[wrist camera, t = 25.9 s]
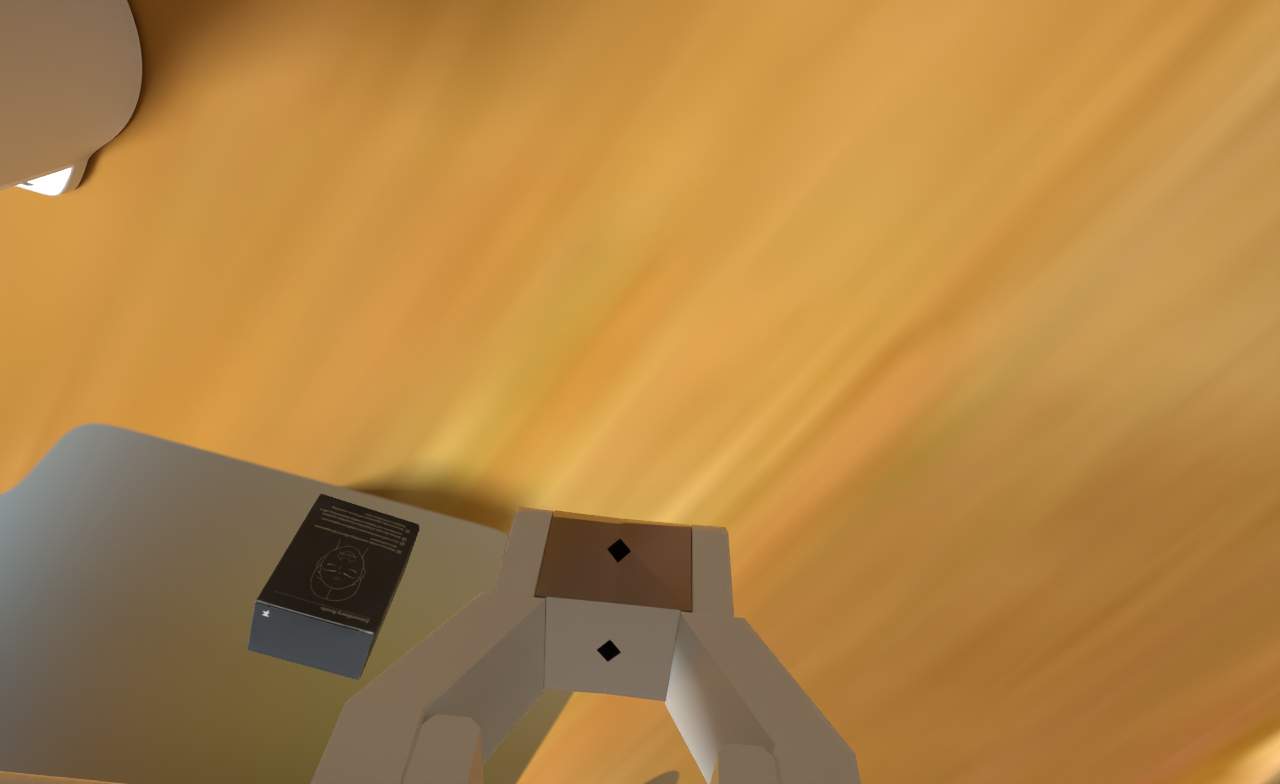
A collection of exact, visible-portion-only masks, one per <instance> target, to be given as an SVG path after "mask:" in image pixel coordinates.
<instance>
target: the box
mask: <svg viewBox="0 0 1280 784" xmlns="http://www.w3.org/2000/svg"><path fill="white" fill-rule="evenodd" d="M418 531H419V525H418V524H415V523H412V522H409V521H406V520H403V519H399V518H396V517H393V516H390V515H387V514H383V513H380V512H377V511H374V510H371V509H367V508H365V507H361V506H358V505H355V504H352V503H348V502H345V501H342V500H339V499H336V498H333V497H329V496H326V495H323V494H320V496H319V497H318V499H317V501H316V502H315V504H314V505H313V507H312V508H311V510H310V512H309V514H308V515H307V517H306V519H305V520H304V522H303V523H302V525H301V527H300V528H299V530H298V532H297V533H296V535H295V537H294V538H293V540H292V542H291V544H290V545H289V547H288V548H287V550H286V552H285V553H284V555H283V557H282V559H281V560H280V562H279V564H278V565H277V567H276V569H275V570H274V572H273V573H272V575H271V577H270V578H269V580H268V582H267V583H266V585H265V587H264V588H263V590H262V592H261V593H260V595H259V597H258V598H257V600H256V602H255V606H254V613H253V619H252V625H251V631H250V636H249V642H248V650H250V651H254V652H258V653H261V654H265V655H269V656H272V657H276V658H279V659H284V660H287V661H290V662H294V663H298V664H302V665H305V666H309V667H312V668H316V669H319V670H324V671H327V672H331V673H335V674H338V675H342V676H345V677H349V678H352V679H356V680H359V678H360V677H361V675H362V672H363V670H364V667H365V665H366V662H367V661H368V658H369V656H370V653H371V651H372V649H373V646H374V644H375V641H376V639H377V636H378V634H379V632H380V629H381V627H382V624H383V622H384V620H385V617H386V615H387V612H388V610H389V607H390V605H391V602H392V600H393V598H394V595H395V593H396V591H397V588H398V586H399V583H400V581H401V579H402V576H403V574H404V571H405V568H406V565H407V563H408V560H409V557H410V554H411V551H412V548H413V545H414V542H415V540H416V537H417V534H418Z"/></svg>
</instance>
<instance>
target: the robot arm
mask: <svg viewBox="0 0 1280 784" xmlns="http://www.w3.org/2000/svg"><path fill="white" fill-rule="evenodd" d="M141 82H142V56H141V48H140V42H139V37H138V32H137V28H136V25H135V21H134V18H133V15H132V12H131V9H130V7H129V4H128V2H127V0H0V190H3V189H7V188H10V187H13V186H16V187H19V188H23V189H26V190H30V191H33V192H37V193H41V194H44V195H49V196H58V195H62V194H65V193H69V192H71V191H73V190H74V189H75V188H76V187H77V186H78V184H79V183H80V181H81V179H82V176H83V174H84V171H85V168H86V165H87V162H88V159H89V158H90V156H91V155H92V154H93V153H94V152H95V151H96V150H98V149H99V148H100V147H102V146H103V145H105V144H106V143H108V142H109V141H110V140H112V139H113V138H114V137H115V136H116V135H118V134H119V133H120V131H121V130H122V129H123V128H124V127H125V125H126V124H127V123H128V121H129V119H130V118H131V116H132V114H133V112H134V110H135V107H136V104H137V101H138V98H139V94H140V89H141ZM605 685H606V686H605ZM543 689H547V690H562V691H575V692H590V693H604V694H612V695H619V696H627V697H635V698H643V699H651V700H659V701H666V702H665V705H666V707H667V709H668V711H669V712H670V714H671V716H672V718H673V720H674V722H675V724H676V726H677V727H678V729H679V731H680V733H681V735H682V737H683V739H684V740H685V742H686V744H687V746H688V748H689V750H690V752H691V753H692V755H693V757H694V759H695V761H696V763H697V765H698V766H699V768H700V770H701V772H702V774H703V776H704V778H705V779H706V781H707V783H708V784H861V781H860V776H859V771H858V766H857V761H856V756H855V753H854V752H853V750H852V749H851V748H850V747H849V745H848V744H847V743H846V742H845V741H844V739H843V738H842V737H841V736H840V734H839V733H838V732H837V731H836V730H835V728H834V727H833V726H832V725H831V723H830V722H829V721H828V720H827V719H826V717H825V716H824V715H823V714H822V712H821V711H820V710H819V709H818V708H817V706H816V705H815V704H814V703H813V701H812V700H811V699H810V698H809V697H808V695H807V694H806V693H805V692H804V690H803V689H802V688H801V687H800V685H799V684H798V683H797V682H796V681H795V679H794V678H793V677H792V676H791V674H790V673H789V672H788V671H787V670H786V668H785V667H784V666H783V665H782V663H781V662H780V661H779V660H778V659H777V657H776V656H775V655H774V654H773V652H772V651H771V650H770V649H769V648H768V646H767V645H766V644H765V643H764V641H763V640H762V639H761V638H760V637H759V635H758V634H757V633H756V632H755V630H754V629H753V628H752V627H751V625H750V624H749V623H748V622H747V621H746V619H745V618H737V617H734V608H733V594H732V580H731V566H730V551H729V537H728V531H727V530H726V528H725V527H714V526H702V525H691V526H690V525H686V524H675V523H664V522H653V521H643V520H632V519H619V518H611V517H603V516H595V515H587V514H579V513H571V512H563V511H548V510H540V509H533V508H525V507H519V508H518V510H517V512H516V513H515V515H514V519H513V522H512V526H511V529H510V533H509V536H508V540H507V544H506V547H505V551H504V554H503V558H502V561H501V565H500V568H499V572H498V575H497V579H496V582H495V586H494V589H493V593H487V592H482V593H480V594H479V595H478V596H476V597H475V598H474V599H473V600H471V601H470V602H469V603H468V604H467V605H465V606H464V607H463V608H462V609H460V610H459V611H458V612H457V613H455V614H454V615H453V616H452V617H450V618H449V619H448V620H447V621H445V622H444V623H443V624H442V625H440V626H439V627H438V628H437V629H436V630H434V631H433V632H432V633H431V634H429V635H428V636H427V637H426V638H424V639H423V640H422V641H421V642H419V643H418V644H417V645H416V646H415V647H413V648H412V649H411V650H410V651H408V652H407V653H406V654H405V655H403V656H402V657H401V658H400V659H398V660H397V661H396V662H395V663H393V664H392V665H391V666H390V667H388V668H387V669H386V670H385V671H384V672H382V673H381V674H380V675H378V676H377V677H376V678H375V679H374V680H372V681H371V682H370V683H369V684H367V685H366V686H365V687H364V688H362V689H361V690H360V691H359V692H357V693H356V694H355V695H354V696H352V697H351V698H350V699H349V700H348V701H346V703H345V705H344V708H343V710H342V712H341V715H340V717H339V719H338V721H337V724H336V726H335V729H334V731H333V733H332V735H331V738H330V740H329V742H328V745H327V747H326V749H325V751H324V754H323V756H322V758H321V761H320V763H319V765H318V768H317V770H316V772H315V774H314V777H313V779H312V781H311V784H483V773H482V765H483V764H484V763H485V762H486V760H487V759H488V758H489V757H490V756H491V754H492V753H493V752H494V751H495V750H496V748H497V747H498V746H499V745H500V743H501V742H502V741H503V740H504V739H505V738H506V737H507V735H508V734H509V733H510V732H511V731H512V729H513V728H514V727H515V726H516V725H517V724H518V722H519V721H520V720H521V719H522V718H523V716H524V715H525V714H526V713H527V712H528V710H529V709H530V708H531V707H532V706H533V704H534V703H535V702H536V701H537V700H538V699H539V697H540V696H541V695H542V694H543ZM0 784H123V783H113V782H103V781H93V780H83V779H72V778H63V777H52V776H43V775H33V774H23V773H13V772H3V771H0Z"/></svg>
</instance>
